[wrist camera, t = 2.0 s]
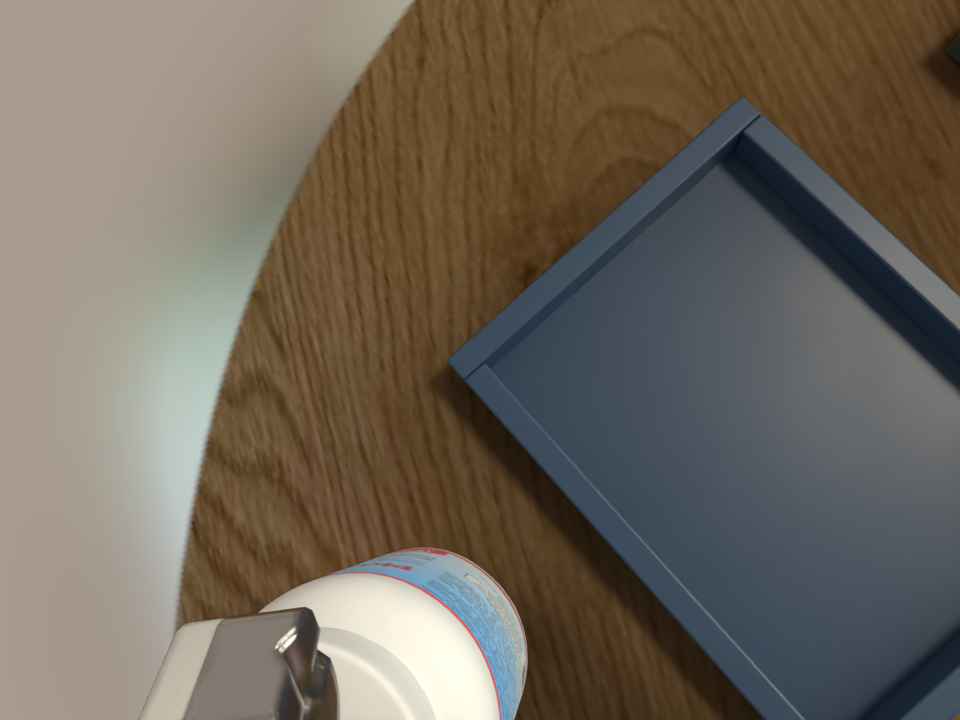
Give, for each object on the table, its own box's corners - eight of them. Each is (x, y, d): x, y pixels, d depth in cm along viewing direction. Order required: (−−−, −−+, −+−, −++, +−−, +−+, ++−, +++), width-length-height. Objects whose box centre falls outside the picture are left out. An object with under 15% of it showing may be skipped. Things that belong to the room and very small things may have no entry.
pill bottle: (430, 504, 25) (303, 515, 14) (572, 657, 23) (559, 805, 12) (288, 644, 24) (44, 770, 13) (424, 805, 23) (277, 1090, 12)
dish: (456, 370, 25) (445, 360, 23) (730, 124, 25) (742, 93, 23) (825, 785, 22) (848, 814, 20) (1136, 503, 22) (1189, 504, 20)
